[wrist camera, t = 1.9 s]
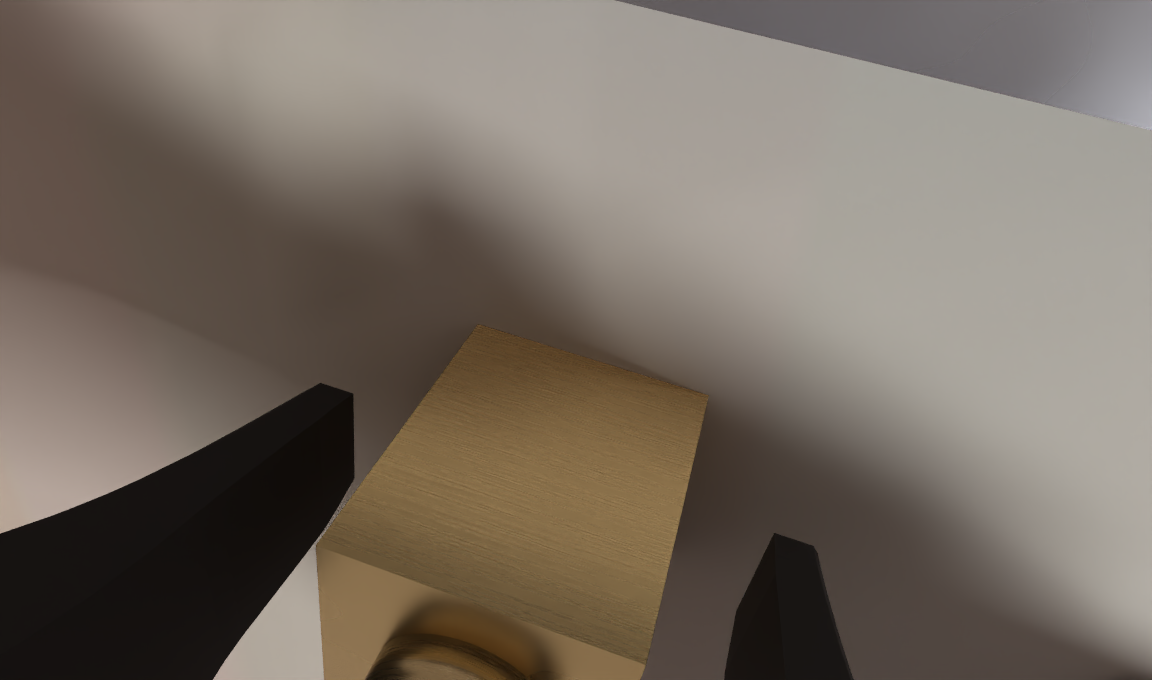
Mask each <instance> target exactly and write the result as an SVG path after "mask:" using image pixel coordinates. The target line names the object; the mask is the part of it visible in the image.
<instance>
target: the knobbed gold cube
mask: <svg viewBox="0 0 1152 680" xmlns="http://www.w3.org/2000/svg"><path fill="white" fill-rule="evenodd" d="M708 397H709V396H708V395H705V394H702V393H699V392H695V391H692V390H689V389H686V388H683V387H679V386H676V385H673V384H670V383H666V382H663V381H660V380H657V379H654V378H650V377H647V376H644V375H641V374H637V373H634V372H631V371H628V370H624V369H621V368H618V367H615V366H612V365H608V364H605V363H602V362H599V361H595V360H592V359H589V358H586V357H583V356H579V355H576V354H573V353H570V352H566V351H563V350H560V349H557V348H553V347H550V346H547V345H544V344H541V343H537V342H534V341H531V340H528V339H524V338H521V337H518V336H515V335H512V334H508V333H505V332H502V331H499V330H495V329H492V328H489V327H486V326H482V325H479V324H478V325H477V326H476V328H475V329H474V330H473V332H472V333H471V335H470V336H469V337H468V339H467V340H466V341H465V343H464V344H463V345H462V347H461V348H460V350H459V351H458V352H457V354H456V355H455V356H454V358H453V359H452V360H451V362H450V363H449V365H448V366H447V367H446V369H445V370H444V371H443V373H442V374H441V375H440V377H439V378H438V380H437V381H436V382H435V384H434V385H433V386H432V388H431V389H430V390H429V392H428V393H427V395H426V396H425V397H424V399H423V400H422V401H421V403H420V404H419V405H418V407H417V408H416V410H415V411H414V412H413V414H412V415H411V416H410V418H409V419H408V420H407V422H406V423H405V425H404V426H403V427H402V429H401V430H400V431H399V433H398V434H397V435H396V437H395V438H394V439H393V441H392V442H391V444H390V445H389V446H388V448H387V449H386V450H385V452H384V453H383V454H382V456H381V457H380V459H379V460H378V461H377V463H376V464H375V465H374V467H373V468H372V469H371V471H370V472H369V474H368V475H367V476H366V478H365V479H364V480H363V482H362V483H361V484H360V486H359V487H358V489H357V490H356V491H355V493H354V494H353V495H352V497H351V498H350V499H349V501H348V502H347V504H346V505H345V506H344V508H343V509H342V510H341V512H340V513H339V514H338V516H337V517H336V519H335V520H334V521H333V523H332V524H331V525H330V527H329V528H328V529H327V531H326V532H325V534H324V535H323V536H322V538H321V539H320V540H319V542H318V543H317V544H316V556H317V572H318V588H319V604H320V620H321V635H322V651H323V667H324V680H640V679H641V677H642V674H643V671H644V669H645V666H646V663H647V659H648V654H649V650H650V646H651V641H652V637H653V633H654V629H655V624H656V620H657V616H658V611H659V607H660V603H661V599H662V594H663V590H664V586H665V581H666V577H667V573H668V568H669V564H670V560H671V556H672V551H673V547H674V543H675V538H676V534H677V530H678V525H679V521H680V517H681V513H682V508H683V504H684V500H685V495H686V491H687V487H688V483H689V478H690V474H691V470H692V465H693V461H694V457H695V452H696V448H697V444H698V440H699V435H700V431H701V427H702V422H703V418H704V414H705V410H706V405H707V401H708Z"/></svg>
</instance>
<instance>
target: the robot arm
mask: <svg viewBox="0 0 1152 680" xmlns="http://www.w3.org/2000/svg"><path fill="white" fill-rule="evenodd" d="M353 480H354V412H353V393H350V392H346V391H343V390H340V389H337V388H334V387H331V386H328V385H325V384H322V383H320V384H318V385H316V386H314V387H312V388H310V389H309V390H307V391H305V392H303V393H301V394H299V395H298V396H296V397H294V398H292V399H291V400H289V401H287V402H285V403H283V404H282V405H280V406H278V407H276V408H275V409H273V410H271V411H269V412H268V413H266V414H264V415H262V416H260V417H259V418H257V419H255V420H253V421H252V422H250V423H248V424H246V425H244V426H243V427H241V428H239V429H237V430H235V431H233V432H232V433H230V434H228V435H226V436H224V437H222V438H221V439H219V440H217V441H215V442H213V443H211V444H209V445H208V446H206V447H204V448H202V449H200V450H198V451H196V452H194V453H192V454H190V455H189V456H187V457H184V458H182V459H180V460H178V461H176V462H174V463H172V464H170V465H168V466H166V467H164V468H162V469H160V470H158V471H156V472H154V473H152V474H150V475H148V476H146V477H144V478H142V479H139V480H137V481H135V482H133V483H131V484H128V485H126V486H124V487H122V488H120V489H117V490H115V491H113V492H110V493H108V494H106V495H103V496H101V497H98V498H96V499H93V500H91V501H89V502H86V503H84V504H81V505H79V506H76V507H74V508H71V509H69V510H66V511H64V512H61V513H58V514H56V515H53V516H50V517H47V518H44V519H41V520H39V521H36V522H33V523H30V524H27V525H24V526H21V527H18V528H15V529H12V530H10V531H7V532H4V533H1V534H0V680H213V679H214V677H215V675H216V674H217V672H218V671H219V669H220V667H221V666H222V664H223V663H224V661H225V660H226V658H227V657H228V656H229V654H230V653H231V651H232V650H233V649H234V647H235V646H236V644H237V643H238V641H239V640H240V639H241V637H242V636H243V635H244V633H245V632H246V631H247V629H248V628H249V627H250V626H251V624H252V623H253V622H254V620H255V619H256V618H257V617H258V615H259V614H260V613H261V611H262V610H263V609H264V607H265V606H266V605H267V604H268V602H269V601H270V600H271V598H272V597H273V596H274V595H275V593H276V592H277V591H278V589H279V588H280V587H281V585H282V584H283V583H284V582H285V580H286V579H287V578H288V576H289V575H290V574H291V573H292V571H293V570H294V569H295V567H296V566H297V565H298V563H299V562H300V561H301V559H302V558H303V557H304V556H305V554H306V553H307V552H308V550H309V549H310V548H311V546H312V545H313V544H314V542H315V541H316V540H317V538H318V537H319V536H320V534H321V533H322V532H323V530H324V529H325V527H326V526H327V524H328V522H329V521H330V519H331V517H332V516H333V514H334V513H335V511H336V509H337V508H338V506H339V504H340V502H341V501H342V499H343V497H344V495H345V494H346V492H347V490H348V488H349V487H350V485H351V483H352V481H353ZM724 680H854V679H853V676H852V673H851V670H850V668H849V665H848V662H847V659H846V656H845V653H844V650H843V646H842V643H841V640H840V637H839V634H838V630H837V627H836V623H835V620H834V616H833V613H832V610H831V606H830V602H829V599H828V595H827V591H826V587H825V583H824V579H823V575H822V571H821V567H820V562H819V558H818V553H817V552H816V550H815V548H814V546H812V545H809V544H806V543H803V542H800V541H797V540H794V539H791V538H788V537H785V536H782V535H779V534H776V533H774V535H773V537H772V539H771V541H770V543H769V545H768V547H767V549H766V551H765V553H764V555H763V557H762V560H761V562H760V564H759V566H758V568H757V570H756V572H755V574H754V576H753V578H752V580H751V582H750V584H749V586H748V588H747V590H746V592H745V594H744V596H743V598H742V601H741V603H740V605H739V607H738V609H737V611H736V616H735V621H734V626H733V632H732V637H731V642H730V647H729V653H728V658H727V663H726V669H725V677H724Z"/></svg>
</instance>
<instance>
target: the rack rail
mask: <svg viewBox="0 0 1152 680" xmlns="http://www.w3.org/2000/svg"><path fill="white" fill-rule="evenodd" d="M616 1H620V2H625V3H629V4H633V5H637V6H641V7H645V8H649V9H653V10H658V11H662V12H666V13H670V14H674V15H678V16H682V17H686V18H691V19H695V20H699V21H703V22H707V23H711V24H715V25H719V26H724V27H728V28H732V29H736V30H740V31H744V32H748V33H752V34H757V35H761V36H765V37H769V38H773V39H777V40H781V41H785V42H790V43H794V44H798V45H802V46H806V47H810V48H814V49H818V50H823V51H827V52H831V53H835V54H839V55H843V56H847V57H851V58H855V59H860V60H864V61H868V62H872V63H876V64H880V65H884V66H888V67H893V68H897V69H901V70H905V71H909V72H913V73H917V74H921V75H926V76H930V77H934V78H938V79H942V80H946V81H950V82H954V83H959V84H963V85H967V86H971V87H975V88H979V89H983V90H987V91H992V92H996V93H1000V94H1004V95H1008V96H1012V97H1016V98H1020V99H1025V100H1029V101H1033V102H1037V103H1041V104H1045V105H1049V106H1053V107H1058V108H1062V109H1066V110H1070V111H1074V112H1078V113H1082V114H1086V115H1091V116H1095V117H1099V118H1103V119H1107V120H1111V121H1115V122H1119V123H1124V124H1128V125H1132V126H1136V127H1140V128H1144V129H1148V130H1152V0H616Z"/></svg>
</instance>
